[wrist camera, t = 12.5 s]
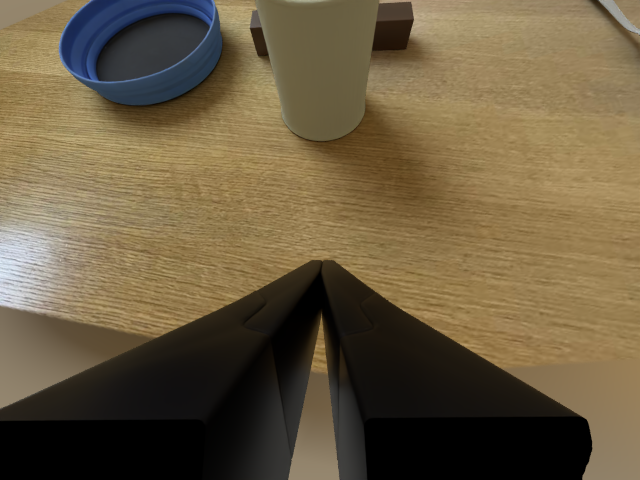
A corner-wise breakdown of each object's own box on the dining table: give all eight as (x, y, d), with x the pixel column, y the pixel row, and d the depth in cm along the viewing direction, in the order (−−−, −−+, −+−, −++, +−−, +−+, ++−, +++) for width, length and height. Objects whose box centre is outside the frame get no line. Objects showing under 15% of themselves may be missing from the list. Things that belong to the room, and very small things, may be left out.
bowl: (235, 93, 28) (222, 61, 24) (82, 126, 27) (46, 99, 24) (222, -1, 33) (209, -37, 30) (94, 25, 33) (67, -8, 30)
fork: (569, -3, 33) (588, -32, 30) (685, 95, 24) (726, 65, 22) (549, 1, 33) (566, -28, 30) (658, 99, 24) (695, 70, 22)
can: (294, 72, 28) (267, -95, 17) (371, 82, 27) (400, -90, 16) (271, 134, 25) (220, -14, 14) (356, 148, 24) (375, -1, 13)
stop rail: (405, 49, 28) (414, 19, 25) (257, 55, 29) (249, 27, 26) (403, 32, 29) (411, 1, 26) (260, 39, 30) (252, 10, 27)
